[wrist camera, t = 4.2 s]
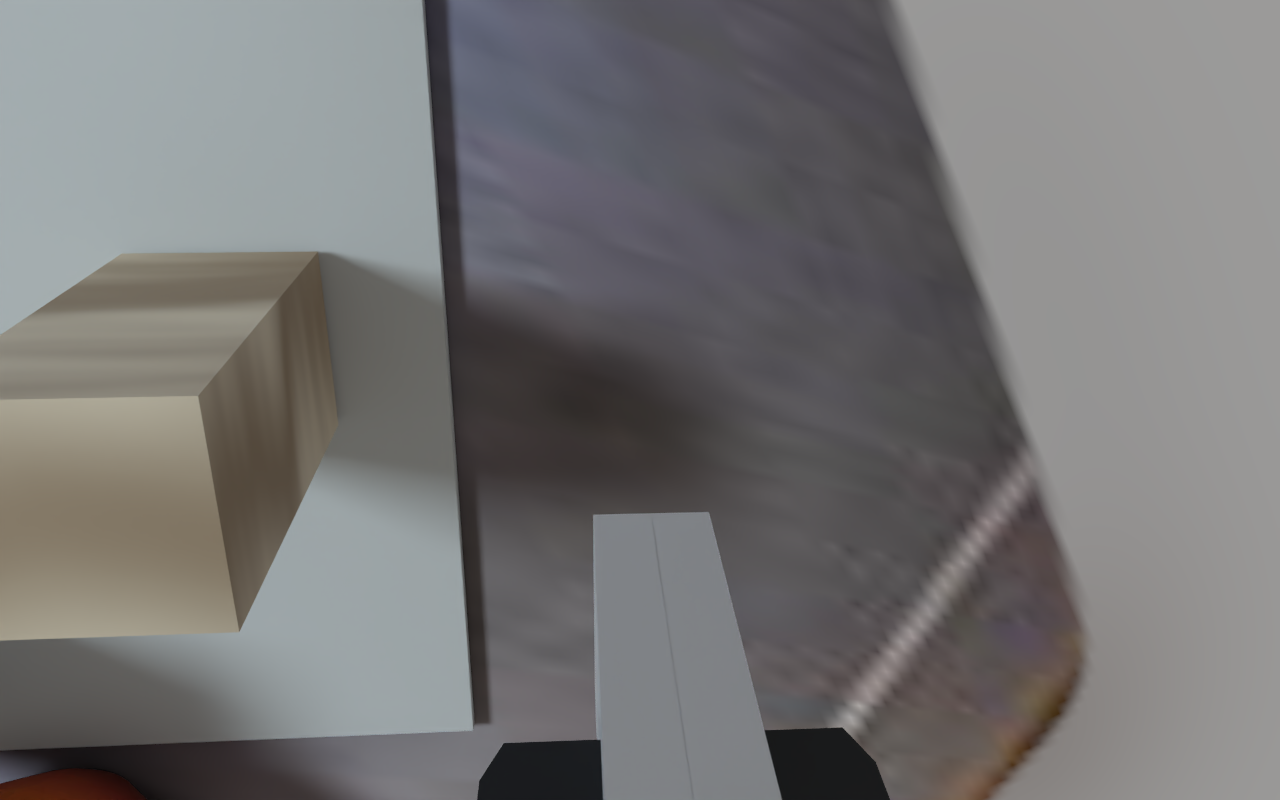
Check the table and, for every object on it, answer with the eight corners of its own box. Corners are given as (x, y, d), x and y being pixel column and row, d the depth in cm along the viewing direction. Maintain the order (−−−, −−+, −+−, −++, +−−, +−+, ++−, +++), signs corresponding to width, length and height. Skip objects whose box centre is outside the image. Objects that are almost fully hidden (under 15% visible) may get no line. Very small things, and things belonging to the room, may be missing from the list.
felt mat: (-639, -71, 19) (-662, -71, 18) (420, -60, 20) (417, -60, 20) (-280, 751, 26) (-292, 762, 26) (474, 720, 27) (473, 730, 27)
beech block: (125, 251, 22) (-101, 402, 14) (320, 248, 22) (198, 396, 14) (159, 424, 23) (-29, 641, 16) (340, 421, 23) (239, 632, 16)
